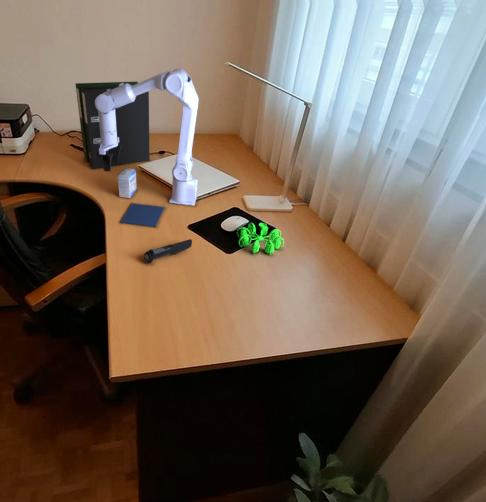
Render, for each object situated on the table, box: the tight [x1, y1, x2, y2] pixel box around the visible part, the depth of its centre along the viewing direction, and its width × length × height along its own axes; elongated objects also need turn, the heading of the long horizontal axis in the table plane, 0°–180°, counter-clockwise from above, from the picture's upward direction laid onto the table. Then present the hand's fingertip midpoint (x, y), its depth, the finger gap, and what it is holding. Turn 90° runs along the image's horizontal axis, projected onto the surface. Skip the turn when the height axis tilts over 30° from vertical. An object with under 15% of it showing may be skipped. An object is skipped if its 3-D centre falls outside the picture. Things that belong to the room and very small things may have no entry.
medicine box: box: [117, 167, 138, 199], centre depth 132 cm, size 8×4×9 cm, turn 168°
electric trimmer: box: [142, 238, 193, 264], centre depth 102 cm, size 4×16×3 cm, turn 122°
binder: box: [74, 81, 151, 170], centre depth 154 cm, size 27×15×32 cm, turn 118°
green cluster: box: [236, 222, 285, 255], centre depth 108 cm, size 15×15×7 cm
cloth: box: [120, 202, 165, 228], centre depth 121 cm, size 12×14×1 cm
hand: (111, 167), depth 129 cm, fingers open, 7 cm apart
